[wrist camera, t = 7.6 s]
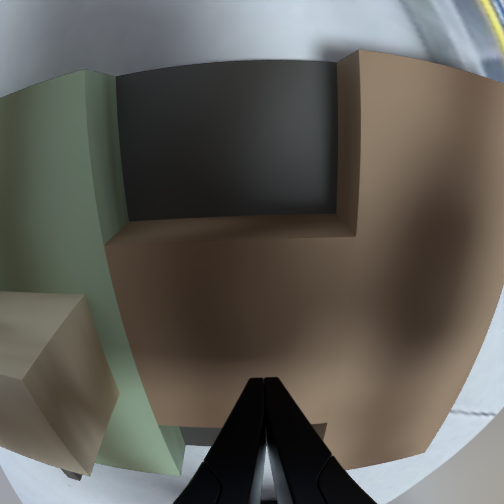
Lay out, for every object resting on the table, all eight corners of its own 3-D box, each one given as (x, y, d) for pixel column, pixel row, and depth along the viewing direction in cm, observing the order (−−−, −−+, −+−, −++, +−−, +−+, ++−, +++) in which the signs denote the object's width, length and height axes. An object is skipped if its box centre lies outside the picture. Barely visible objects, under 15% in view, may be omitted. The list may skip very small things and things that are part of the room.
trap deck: (486, 92, 9) (559, 96, 5) (411, 421, 16) (432, 472, 12) (-12, 117, 9) (-81, 130, 5) (87, 428, 16) (68, 477, 12)
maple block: (120, 393, 11) (89, 476, 7) (33, 379, 11) (-5, 444, 7) (84, 294, 9) (22, 379, 5) (-6, 290, 9) (-68, 351, 5)
